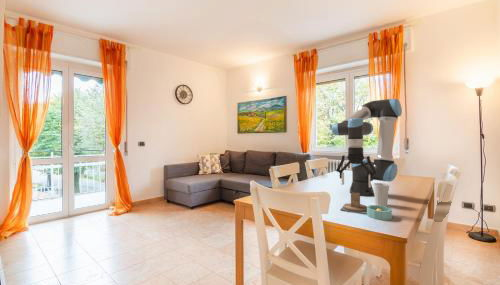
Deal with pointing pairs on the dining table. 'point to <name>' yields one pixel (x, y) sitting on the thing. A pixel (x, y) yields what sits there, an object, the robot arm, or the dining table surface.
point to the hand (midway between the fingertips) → (355, 185)
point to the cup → (381, 194)
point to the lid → (355, 203)
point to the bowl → (379, 212)
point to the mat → (353, 211)
